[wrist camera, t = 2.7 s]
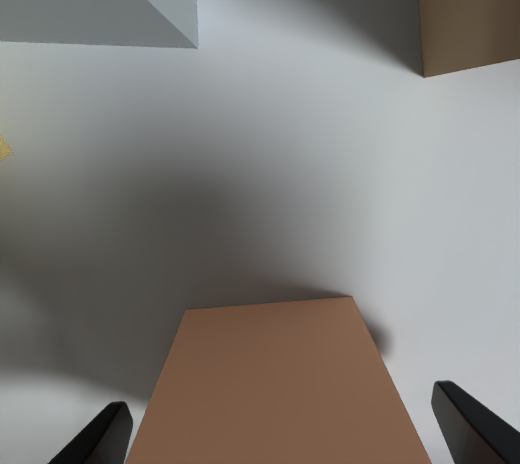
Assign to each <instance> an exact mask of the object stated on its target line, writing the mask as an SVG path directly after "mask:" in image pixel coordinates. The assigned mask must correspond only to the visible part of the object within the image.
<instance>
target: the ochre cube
mask: <svg viewBox="0 0 520 464" xmlns="http://www.w3.org/2000/svg"><path fill="white" fill-rule="evenodd" d="M11 153H13V151H12V150H11V149H10V147H9V146H8V145H7V143H6V142H5V141H4V140H3V138H2V137H1V136H0V160H1V159H3V158H4V157H6V156H8V155H9V154H11Z"/></svg>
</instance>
